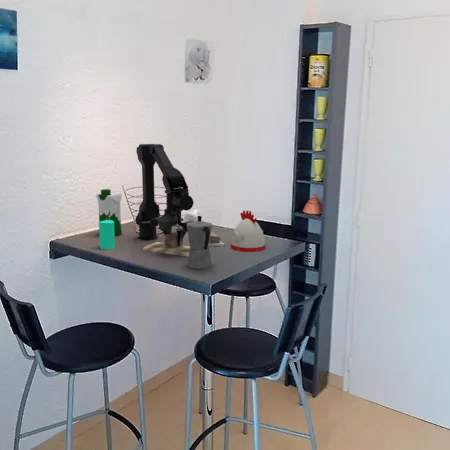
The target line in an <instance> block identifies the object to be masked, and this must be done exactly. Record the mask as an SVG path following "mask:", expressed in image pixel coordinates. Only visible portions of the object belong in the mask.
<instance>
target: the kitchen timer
mask: <svg viewBox="0 0 450 450" xmlns="http://www.w3.org/2000/svg"><path fill="white" fill-rule="evenodd" d="M239 215H240V218H241V221H240V222H239V223H238V224H237V226H236V227H235V228H234V231H233V232H232V236H231V239H230V249H232V250H234V251H238V252H247V253H253V252H261V251H265V249H266V239H265V235H264V230H263V229H262V228H261V226H260V225H259V223H258V222H257V217H255V214H252V211H251V210H243V211H242V212H240V213H239ZM254 217H255V218H254Z"/></svg>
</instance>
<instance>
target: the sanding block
mask: <svg viewBox="0 0 450 450" xmlns="http://www.w3.org/2000/svg"><path fill="white" fill-rule="evenodd" d="M164 243H165V249H168V250H176V249H178V248H180V247H183V245H184V239H183V240H182V242H181V245H180V246H178V233H177V231H172V232H171V233H169V234H166V235H164Z"/></svg>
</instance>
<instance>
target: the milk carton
mask: <svg viewBox="0 0 450 450" xmlns="http://www.w3.org/2000/svg"><path fill="white" fill-rule="evenodd" d="M122 194H123V193H116V192H112V191H111V189H109V188H107V189H105V188H103V189H100V193H98V194H96V198H97V204H98V223H99V222H100V221H104V220H106V218H107V220H112V221H114V233H115V237H117V236H121V235H123V231H122V230H123V229H122V223H121V215H122V214H121V201H122V197H123V196H122Z"/></svg>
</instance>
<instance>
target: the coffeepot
mask: <svg viewBox="0 0 450 450" xmlns="http://www.w3.org/2000/svg"><path fill="white" fill-rule="evenodd" d="M197 217H198V221H193V222H190V223H187V236H188V237H187V238H188V243H189V246H190V250H189V256H188V258H187V263H186V266H187V268H190V269H193V270H206V269H210V268H211V267H212V264H213V263H212V258H211V251H210V247H209V242H210V235H211V232H212V228H213V223H212V222H207V221H204V220H202V218H203V217H202V215H198V216H197Z"/></svg>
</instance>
